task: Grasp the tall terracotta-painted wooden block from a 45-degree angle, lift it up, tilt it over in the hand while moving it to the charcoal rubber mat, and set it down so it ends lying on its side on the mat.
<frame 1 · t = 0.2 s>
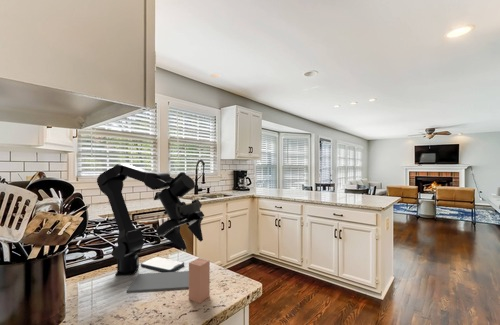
hand: (193, 244, 83), 14 cm above the counter, tool tilted 35°, fingers open, 9 cm apart
mat: (166, 281, 87), on the counter
smartphone: (162, 267, 100), on the counter
block: (199, 297, 76), on the counter
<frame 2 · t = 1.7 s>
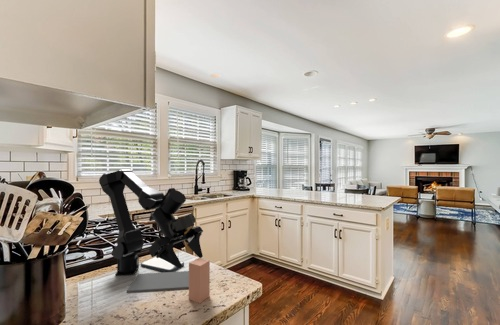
hand: (191, 262, 78), 10 cm above the counter, tool tilted 45°, fingers open, 9 cm apart
nothing on the counter moved.
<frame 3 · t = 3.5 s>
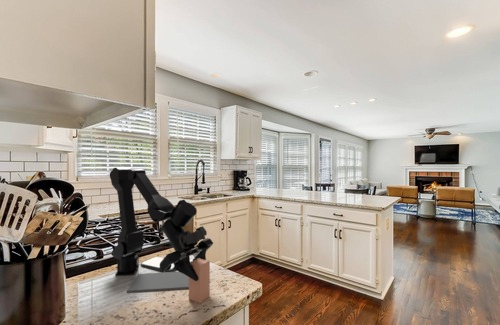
hand: (202, 277, 76), 7 cm above the counter, tool tilted 45°, fingers closed on block, 4 cm apart
block: (199, 297, 76), on the counter, touching gripper
everything else where it was.
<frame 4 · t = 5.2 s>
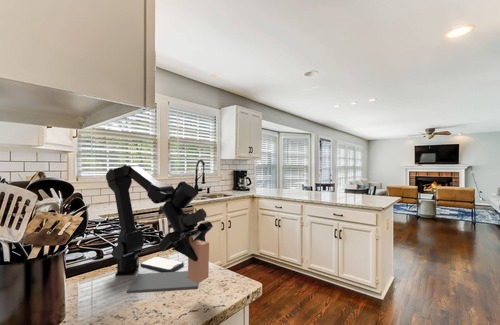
hand: (202, 258, 76), 12 cm above the counter, tool tilted 45°, fingers closed on block, 4 cm apart
block: (198, 278, 77), point 6 cm above the counter, touching gripper
everything else where it was.
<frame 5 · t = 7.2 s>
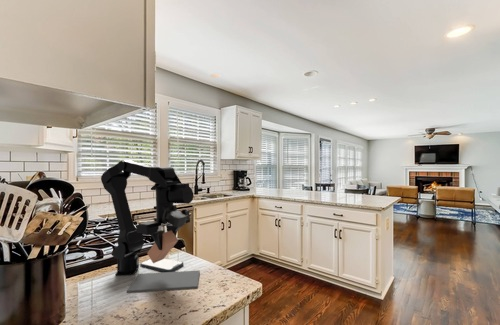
hand: (166, 247, 87), 12 cm above the counter, tool pointing down, fingers closed on block, 4 cm apart
block: (155, 256, 89), point 8 cm above the counter, tilted 43°, touching gripper
everything else where it was.
when the fingers open (7 cm above the counter, at t = 9.5 s): block moves 2 cm and tips over, resting on mat.
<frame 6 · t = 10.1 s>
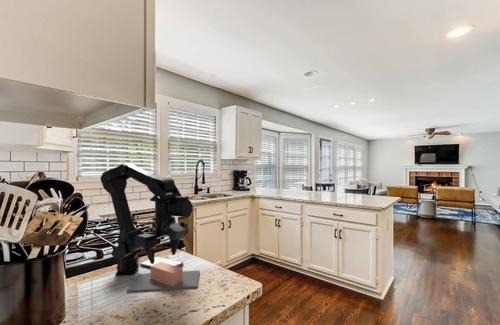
hand: (163, 259, 87), 7 cm above the counter, tool pointing down, fingers open, 9 cm apart
block: (155, 269, 89), point 3 cm above the counter, tilted 90°, touching mat
everything else where it was.
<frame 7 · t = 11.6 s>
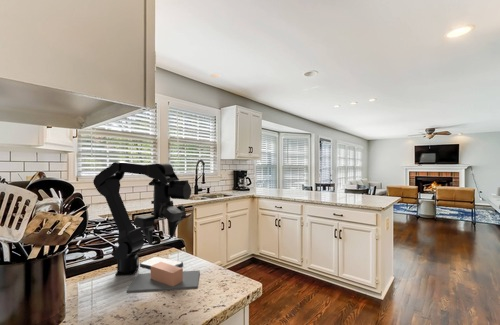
hand: (161, 241, 90), 13 cm above the counter, tool pointing down, fingers open, 9 cm apart
nothing on the counter moved.
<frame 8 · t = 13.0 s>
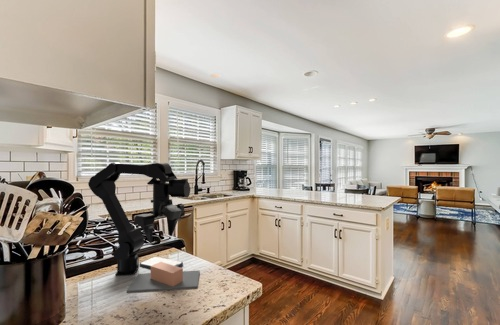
hand: (161, 239, 92), 13 cm above the counter, tool pointing down, fingers open, 9 cm apart
nothing on the counter moved.
at the end: block tilted 90°; block inside the target area on the mat (5.3 cm from its centre), point 2.8 cm above the mat's base; the gripper is holding nothing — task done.
